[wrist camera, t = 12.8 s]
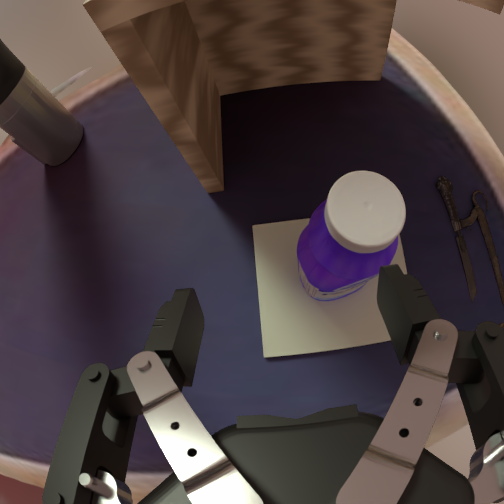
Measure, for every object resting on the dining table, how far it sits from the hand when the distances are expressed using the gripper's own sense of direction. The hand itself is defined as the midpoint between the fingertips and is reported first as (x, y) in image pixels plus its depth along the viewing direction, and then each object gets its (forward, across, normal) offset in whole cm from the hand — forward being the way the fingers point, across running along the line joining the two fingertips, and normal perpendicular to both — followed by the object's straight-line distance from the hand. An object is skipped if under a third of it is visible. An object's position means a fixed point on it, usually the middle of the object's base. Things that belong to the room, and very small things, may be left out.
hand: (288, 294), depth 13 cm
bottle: (+15, -5, +10) cm, 19 cm away
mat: (+15, -5, +11) cm, 19 cm away
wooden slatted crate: (+30, -5, -4) cm, 30 cm away
